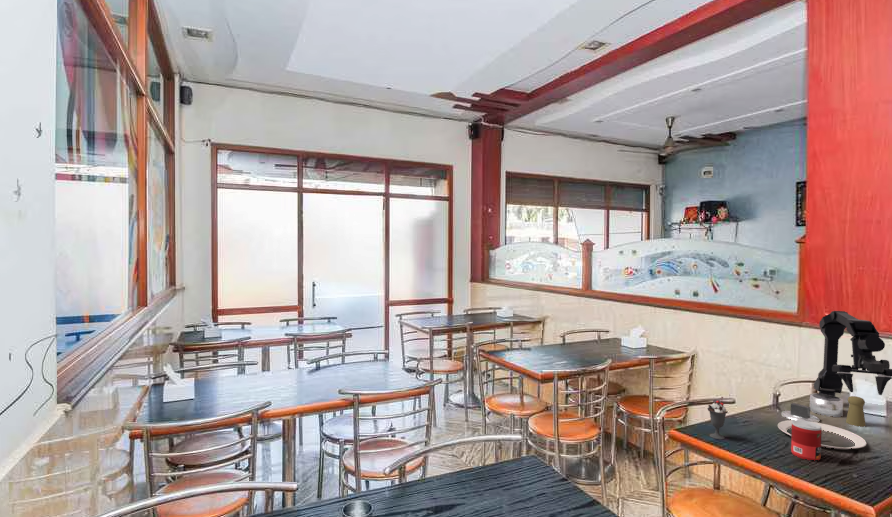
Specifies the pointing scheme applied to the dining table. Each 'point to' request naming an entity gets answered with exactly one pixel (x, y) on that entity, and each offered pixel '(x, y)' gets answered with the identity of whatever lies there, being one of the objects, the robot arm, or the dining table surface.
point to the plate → (855, 438)
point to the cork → (856, 411)
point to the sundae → (717, 418)
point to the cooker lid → (800, 413)
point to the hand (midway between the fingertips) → (865, 393)
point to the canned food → (806, 440)
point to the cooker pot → (826, 405)
